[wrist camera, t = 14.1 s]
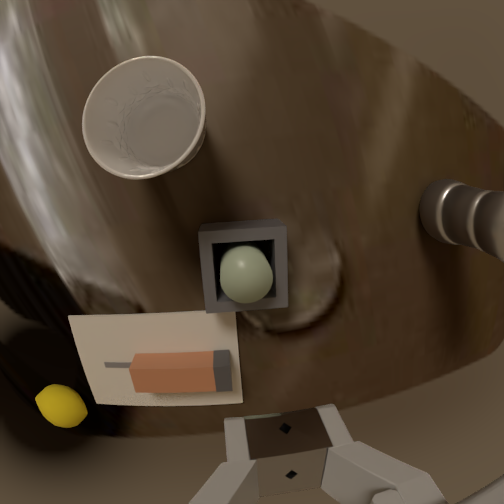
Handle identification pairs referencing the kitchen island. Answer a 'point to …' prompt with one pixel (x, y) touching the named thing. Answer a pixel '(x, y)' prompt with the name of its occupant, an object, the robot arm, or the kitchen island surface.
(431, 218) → the plastic bottle
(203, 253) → the button housing
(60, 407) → the lemon
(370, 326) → the kitchen island surface
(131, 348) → the paper
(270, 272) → the button
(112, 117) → the white cup
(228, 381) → the block
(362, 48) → the kitchen island surface
